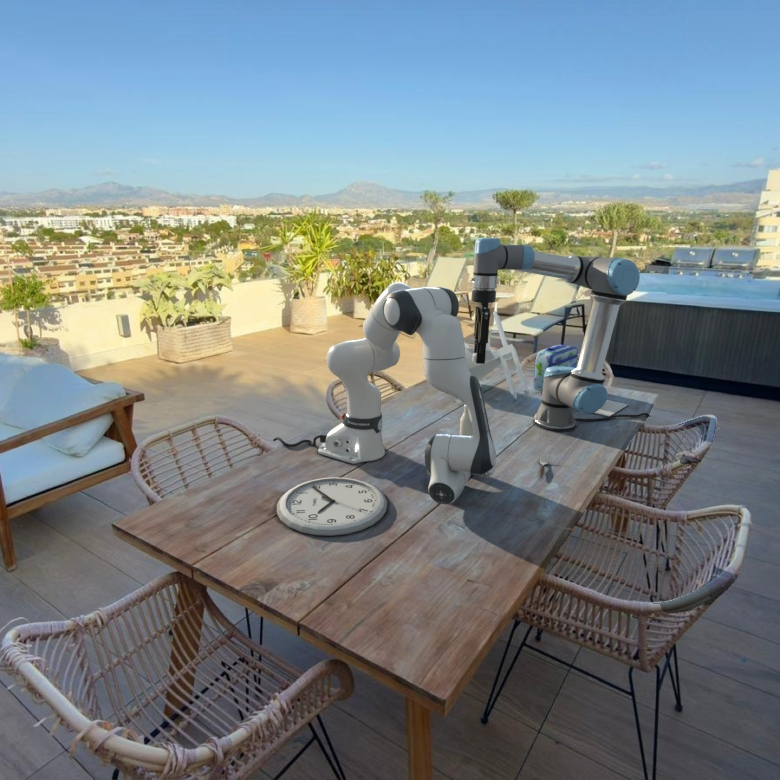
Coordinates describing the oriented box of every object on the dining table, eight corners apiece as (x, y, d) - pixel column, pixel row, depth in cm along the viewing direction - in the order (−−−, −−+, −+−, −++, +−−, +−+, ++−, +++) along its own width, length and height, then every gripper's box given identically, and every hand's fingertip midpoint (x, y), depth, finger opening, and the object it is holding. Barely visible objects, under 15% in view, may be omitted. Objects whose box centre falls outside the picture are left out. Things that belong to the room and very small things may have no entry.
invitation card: (608, 416, 214) (573, 407, 224) (608, 416, 214) (573, 408, 224) (628, 404, 229) (594, 396, 238) (628, 405, 229) (594, 397, 238)
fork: (536, 478, 160) (536, 472, 159) (540, 458, 174) (541, 452, 173) (545, 480, 159) (545, 474, 158) (548, 459, 173) (549, 453, 173)
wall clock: (392, 527, 129) (268, 531, 127) (391, 533, 130) (269, 537, 127) (383, 473, 158) (282, 475, 155) (383, 478, 158) (282, 480, 156)
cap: (483, 359, 173) (484, 352, 172) (487, 362, 169) (487, 355, 168) (470, 359, 173) (471, 352, 172) (474, 362, 168) (474, 355, 168)
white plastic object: (461, 429, 252) (437, 405, 227) (444, 352, 274) (420, 323, 250) (535, 404, 240) (518, 377, 215) (510, 326, 262) (492, 293, 237)
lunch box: (550, 397, 237) (555, 352, 231) (529, 391, 245) (533, 348, 238) (577, 386, 255) (582, 344, 249) (556, 381, 262) (561, 340, 256)
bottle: (465, 476, 161) (469, 409, 154) (453, 470, 165) (457, 404, 158) (476, 471, 164) (481, 405, 157) (464, 466, 168) (469, 401, 161)
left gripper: (492, 465, 146) (501, 447, 159) (423, 453, 153) (436, 437, 166) (491, 486, 148) (499, 466, 161) (422, 473, 155) (435, 455, 168)
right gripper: (468, 285, 172) (463, 355, 179) (476, 292, 155) (471, 368, 162) (490, 286, 172) (485, 355, 179) (501, 292, 156) (495, 368, 163)
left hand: (466, 451), depth 163 cm, fingers closed on bottle, 5 cm apart
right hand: (479, 361), depth 171 cm, fingers closed on cap, 4 cm apart
